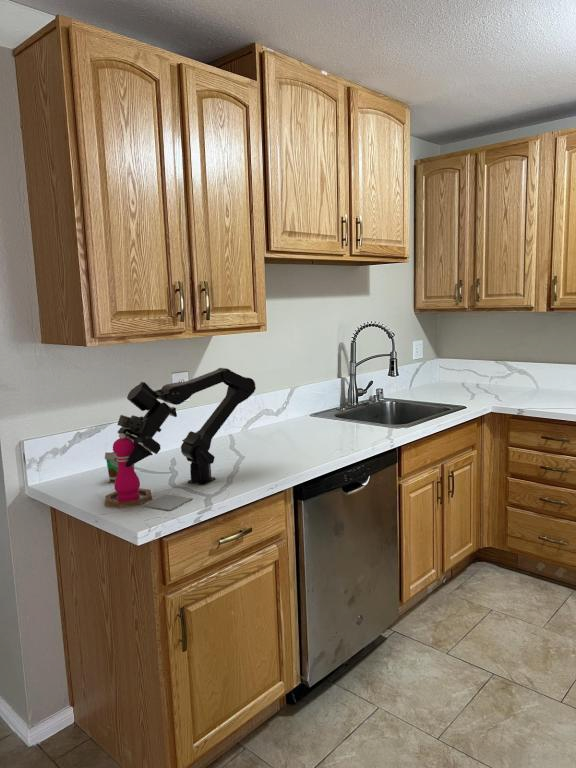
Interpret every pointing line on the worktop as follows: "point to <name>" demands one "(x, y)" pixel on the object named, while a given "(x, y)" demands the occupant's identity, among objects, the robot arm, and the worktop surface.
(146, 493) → the walnut holder ring
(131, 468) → the pepper mill
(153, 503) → the slate mat
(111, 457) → the food container
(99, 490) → the worktop surface
